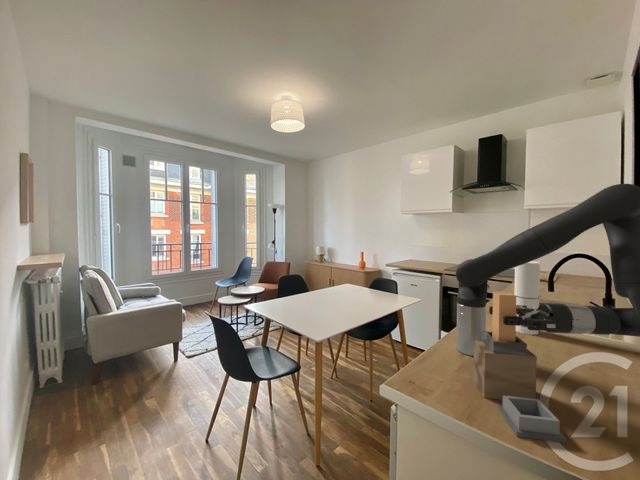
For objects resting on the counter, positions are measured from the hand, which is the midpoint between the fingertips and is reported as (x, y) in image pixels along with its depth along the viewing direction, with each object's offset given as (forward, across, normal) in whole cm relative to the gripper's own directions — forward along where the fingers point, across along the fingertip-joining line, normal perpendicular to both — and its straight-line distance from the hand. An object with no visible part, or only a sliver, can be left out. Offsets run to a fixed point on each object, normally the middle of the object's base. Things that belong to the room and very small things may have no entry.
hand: (496, 315), depth 74 cm
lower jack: (-2, +13, +21) cm, 25 cm away
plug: (-2, 0, +9) cm, 9 cm away
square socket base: (-2, 0, +21) cm, 21 cm away
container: (-32, -50, +21) cm, 63 cm away
